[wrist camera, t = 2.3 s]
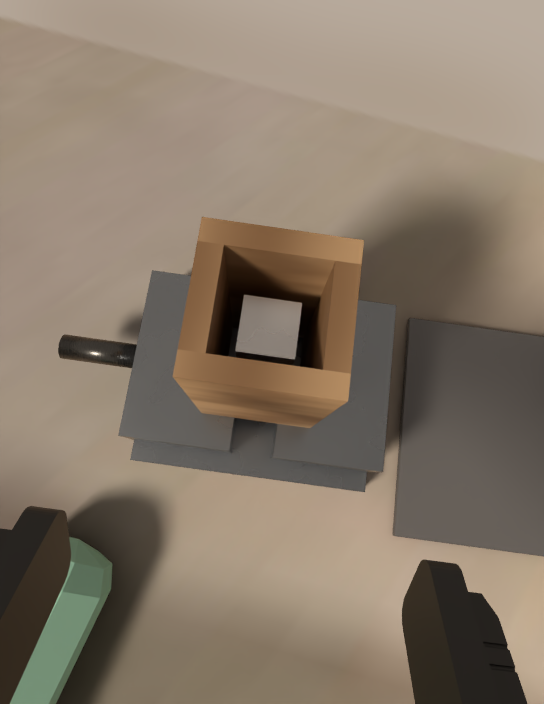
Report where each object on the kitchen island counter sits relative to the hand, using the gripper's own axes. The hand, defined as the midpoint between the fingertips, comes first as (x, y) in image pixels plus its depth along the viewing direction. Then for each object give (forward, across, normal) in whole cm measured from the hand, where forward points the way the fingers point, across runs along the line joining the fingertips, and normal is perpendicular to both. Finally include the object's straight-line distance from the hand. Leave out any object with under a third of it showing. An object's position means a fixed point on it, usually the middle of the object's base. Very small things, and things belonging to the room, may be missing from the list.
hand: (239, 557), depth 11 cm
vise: (+16, +2, +6) cm, 17 cm away
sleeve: (+12, 0, +3) cm, 13 cm away
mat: (+15, -14, +7) cm, 22 cm away
